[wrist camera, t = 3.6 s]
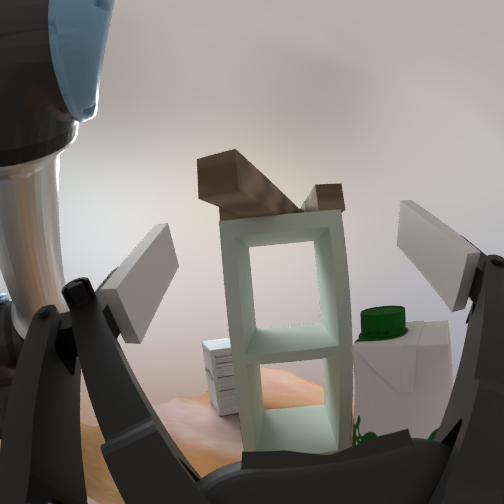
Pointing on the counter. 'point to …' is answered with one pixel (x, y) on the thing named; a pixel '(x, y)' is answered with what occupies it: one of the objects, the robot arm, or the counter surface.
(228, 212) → the banded slat
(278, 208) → the plain slat
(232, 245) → the shelf unit
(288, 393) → the counter surface
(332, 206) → the banded slat
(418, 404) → the milk carton
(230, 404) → the supplement box
